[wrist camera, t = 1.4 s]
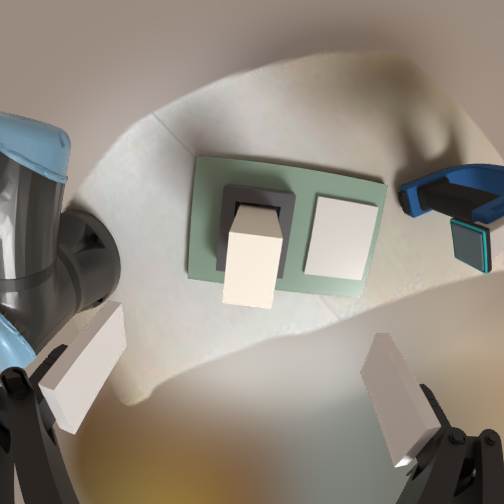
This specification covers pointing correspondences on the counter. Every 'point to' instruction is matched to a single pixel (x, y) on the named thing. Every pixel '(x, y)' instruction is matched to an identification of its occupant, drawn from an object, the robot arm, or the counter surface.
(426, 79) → the counter surface
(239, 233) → the plug
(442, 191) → the handheld scanner
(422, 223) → the counter surface
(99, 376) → the robot arm
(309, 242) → the green socket board
